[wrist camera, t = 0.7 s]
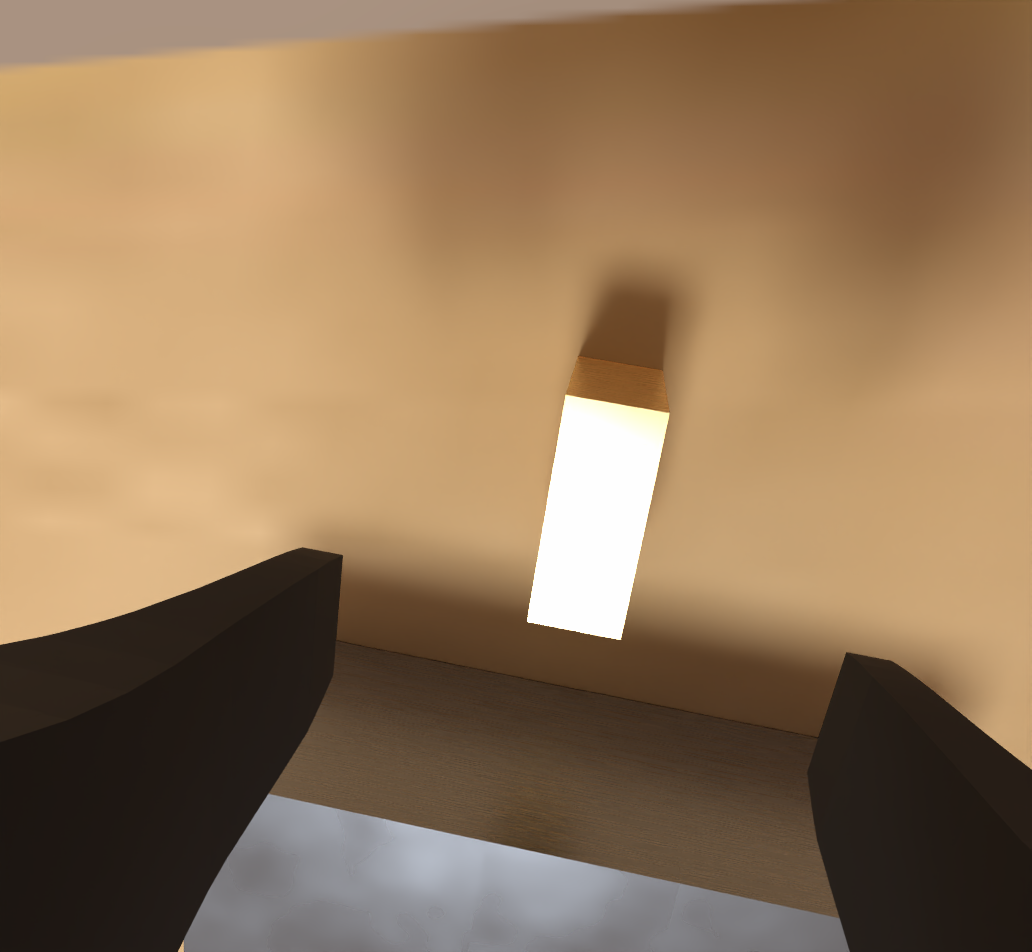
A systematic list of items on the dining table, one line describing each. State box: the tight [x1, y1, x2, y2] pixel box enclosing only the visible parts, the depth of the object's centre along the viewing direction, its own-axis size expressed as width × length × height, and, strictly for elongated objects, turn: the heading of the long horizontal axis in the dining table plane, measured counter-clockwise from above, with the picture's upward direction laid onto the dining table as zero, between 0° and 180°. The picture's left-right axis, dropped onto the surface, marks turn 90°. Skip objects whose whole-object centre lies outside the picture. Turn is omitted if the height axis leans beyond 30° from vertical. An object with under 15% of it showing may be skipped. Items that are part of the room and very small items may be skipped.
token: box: [527, 356, 670, 640], centre depth 18 cm, size 2×5×4 cm, turn 172°
